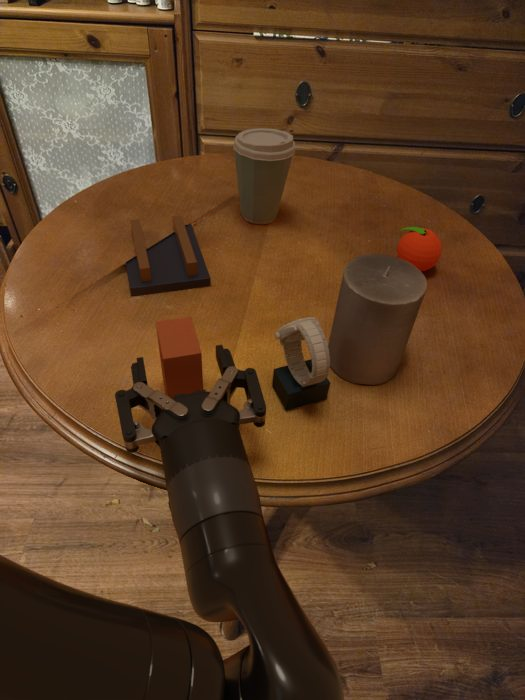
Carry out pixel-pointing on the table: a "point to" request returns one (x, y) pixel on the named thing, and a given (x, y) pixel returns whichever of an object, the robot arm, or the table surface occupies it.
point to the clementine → (419, 248)
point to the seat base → (167, 261)
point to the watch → (302, 365)
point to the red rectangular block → (179, 356)
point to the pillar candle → (374, 317)
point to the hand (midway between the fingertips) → (180, 356)
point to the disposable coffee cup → (262, 171)
